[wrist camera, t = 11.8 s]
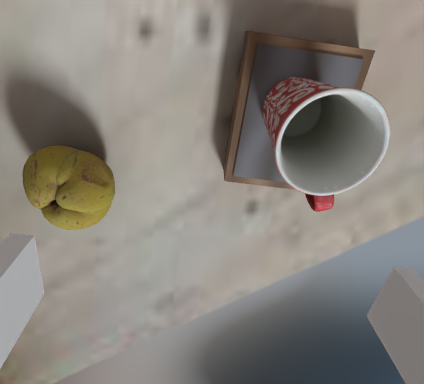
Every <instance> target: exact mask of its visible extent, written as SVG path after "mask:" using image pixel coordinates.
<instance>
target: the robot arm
mask: <svg viewBox="0 0 424 384" xmlns="http://www.w3.org/2000/svg"><path fill="white" fill-rule="evenodd" d="M43 295H44V288H43V282H42V277H41V271H40V265H39V259H38V254H37V248H36V242H35V236H34V235H22V234H10V235H9V236H8V237H7V238H6V239H5V240H4V241H3V242H2V243H1V245H0V368H1V367H2V365H3V363H4V361H5V360H6V358H7V356H8V355H9V353H10V351H11V349H12V348H13V346H14V344H15V343H16V341H17V339H18V338H19V336H20V334H21V332H22V331H23V329H24V327H25V326H26V324H27V322H28V321H29V319H30V317H31V315H32V314H33V312H34V310H35V309H36V307H37V305H38V303H39V302H40V300H41V298H42V297H43ZM367 318H368V319H369V321H370V323H371V324H372V326H373V328H374V330H375V331H376V333H377V335H378V336H379V338H380V340H381V342H382V343H383V345H384V347H385V349H386V350H387V352H388V354H389V356H390V357H391V359H392V361H393V362H394V364H395V366H396V368H397V369H398V371H399V373H400V375H401V376H402V378H403V380H404V381H405V383H406V384H424V281H423V280H422V279H421V278H420V277H419V275H418V274H417V273H416V272H415V271H414V270H413V269H412V268H401V267H394V268H393V269H392V271H391V273H390V275H389V277H388V278H387V280H386V282H385V284H384V285H383V288H382V289H381V291H380V293H379V294H378V296H377V298H376V300H375V302H374V303H373V305H372V307H371V309H370V310H369V312H368V314H367Z"/></svg>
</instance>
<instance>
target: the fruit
mask: <svg viewBox="0 0 424 384" xmlns="http://www.w3.org/2000/svg"><path fill="white" fill-rule="evenodd" d="M23 185H24V189H25V192H26V195H27V197H28V199H29V201H30V202H31V204H32V205H33V206H35V207H37V208H39V209H41V210H42V213H43V215H44V217H45V218H46V219H47V220H48V221H49V222H50V223H52V224H53V225H55V226H57V227H60V228H63V229H68V230H78V229H83V228H86V227H89V226H92V225H94V224H96V223H98V222H99V221H100V220H101V219H102V218H103V217H104V216H105V215H106V213H107V212H108V210H109V208H110V205H111V202H112V200H113V198H114V194H115V183H114V177H113V173H112V171H111V169H110V168H109V166H108V165H107V164H106V163H105V162H104V161H103V160H102V159H100V158H99V157H97V156H96V155H94V154H92V153H89V152H86V151H82V150H78V149H75V148H72V147H68V146H61V145H55V146H48V147H44V148H42V149H39V150H37V151H36V152H34V153H33V154H32V155H30V156H29V158H28V159H27V161H26V163H25V165H24V169H23Z"/></svg>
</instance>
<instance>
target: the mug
mask: <svg viewBox="0 0 424 384" xmlns="http://www.w3.org/2000/svg"><path fill="white" fill-rule="evenodd" d="M263 119H264V123H265V126H266V128H267V131H268V134H269V137H270V139H271V143H272V146H273V149H274V153H275V162H276V165H277V168H278V171H279V173H280V175H281V176H282V178H283V179H284V180H285V181H286V182H287V183H288V184H289V185H290V186H291V187H293V188H294V189H296V190H298V191H300V192H303V193H305V195H306V198H307V200H308V203H309V205H310V206H311V208H312V209H313V210H314V211H318V212H320V211H324V210H328V209H331V208H332V207H333V205H334V194H337V193H341V192H344V191H346V190H349V189H351V188H353V187H355V186H356V185H358V184H360V183H361V182H363V181H364V180H365V179H366V178H368V177H369V176H370V175H371V174H372V173H373V172H374V171H375V169H376V168H377V167H378V166H379V164H380V163H381V161H382V159H383V157H384V155H385V153H386V151H387V148H388V145H389V140H390V124H389V119H388V116H387V114H386V111H385V109H384V108H383V106H382V105H381V103H380V102H379V101H378V100H377V99H376V98H374V97H373V96H372V95H370V94H368V93H366V92H364V91H361V90H358V89H354V88H344V87H342V88H341V87H337V86H333V85H329V84H325V83H322V82H318V81H315V80H311V79H307V78H303V77H291V78H287V79H284V80H282V81H280V82H279V83H277V84H276V85H275V86H274V87H273V88H272V89H271V90H270V91H269V92H268V94H267V96H266V98H265V101H264V104H263Z"/></svg>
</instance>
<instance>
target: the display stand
mask: <svg viewBox="0 0 424 384" xmlns="http://www.w3.org/2000/svg"><path fill="white" fill-rule="evenodd" d="M374 52H375V51H374V50H367V49H361V48H354V47H348V46H341V45H335V44H328V43H322V42H315V41H309V40H302V39H296V38H289V37H283V36H276V35H270V34H263V33H257V32H250V31H246V36H245V42H244V48H243V54H242V60H241V66H240V72H239V78H238V84H237V90H236V96H235V102H234V108H233V114H232V120H231V126H230V132H229V138H228V144H227V150H226V156H225V162H224V168H223V170H224V181H229V182H237V183H245V184H254V185H262V186H271V187H279V188H288V189H294V188H293V187H291V186H290V185H289V184H288V183H287V182H286V181H285V180H284V179H283V178H282V176H281V175H280V173H279V171H278V168H277V165H276V162H275V153H274V149H273V146H272V143H271V139H270V137H269V134H268V131H267V128H266V126H265V123H264V119H263V104H264V101H265V98H266V96H267V94H268V92H269V91H270V90H271V89H272V88H273V87H274V86H275V85H276V84H277V83H279V82H280V81H282V80H284V79H287V78H291V77H303V78H307V79H311V80H315V81H318V82H322V83H325V84H329V85H333V86H337V87H341V88H342V87H344V88H354V89H358V90H361V89H362V86H363V83H364V80H365V78H366V75H367V72H368V69H369V66H370V64H371V61H372V58H373V55H374Z"/></svg>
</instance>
